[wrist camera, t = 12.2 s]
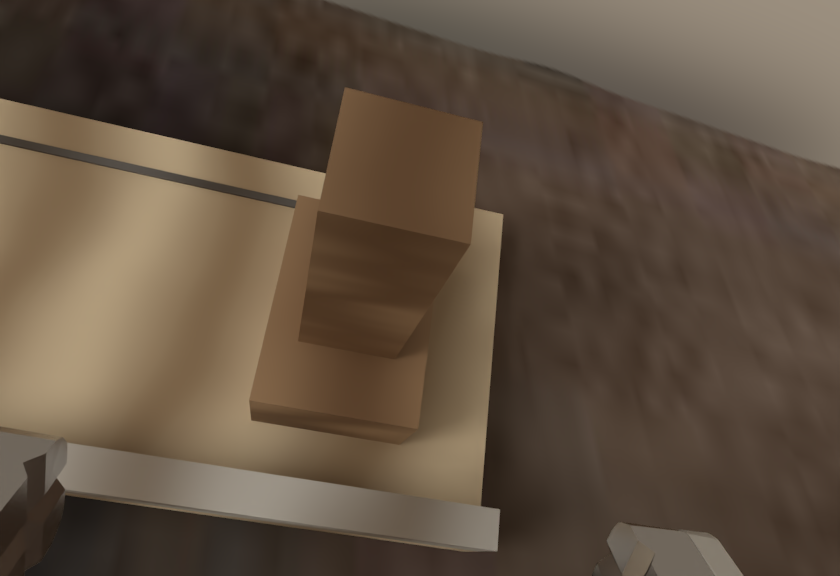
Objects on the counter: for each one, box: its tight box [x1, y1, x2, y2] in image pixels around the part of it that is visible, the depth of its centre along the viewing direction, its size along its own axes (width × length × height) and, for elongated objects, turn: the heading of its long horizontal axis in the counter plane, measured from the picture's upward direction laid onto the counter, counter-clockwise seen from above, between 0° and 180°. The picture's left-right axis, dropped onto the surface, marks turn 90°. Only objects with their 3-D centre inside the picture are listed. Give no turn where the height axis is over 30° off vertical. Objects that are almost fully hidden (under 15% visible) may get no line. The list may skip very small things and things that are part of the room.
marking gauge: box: [249, 87, 483, 445], centre depth 18 cm, size 5×8×11 cm, turn 173°
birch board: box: [0, 99, 503, 552], centre depth 21 cm, size 22×13×4 cm, turn 83°
